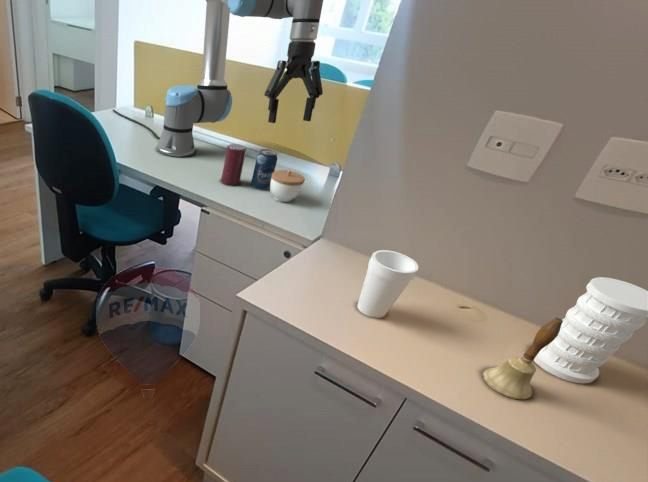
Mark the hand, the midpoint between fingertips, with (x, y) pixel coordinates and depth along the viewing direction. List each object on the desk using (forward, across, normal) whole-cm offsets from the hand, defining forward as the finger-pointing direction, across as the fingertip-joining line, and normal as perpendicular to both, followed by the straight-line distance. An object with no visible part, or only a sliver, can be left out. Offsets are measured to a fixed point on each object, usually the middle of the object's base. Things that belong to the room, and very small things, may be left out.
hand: (289, 121), depth 140 cm
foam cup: (+33, -18, -61) cm, 72 cm away
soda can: (+22, -1, +9) cm, 24 cm away
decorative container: (+37, +8, -89) cm, 97 cm away
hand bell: (+37, -10, -89) cm, 97 cm away
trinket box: (+24, +1, -2) cm, 24 cm away
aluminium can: (+21, -10, +15) cm, 28 cm away
